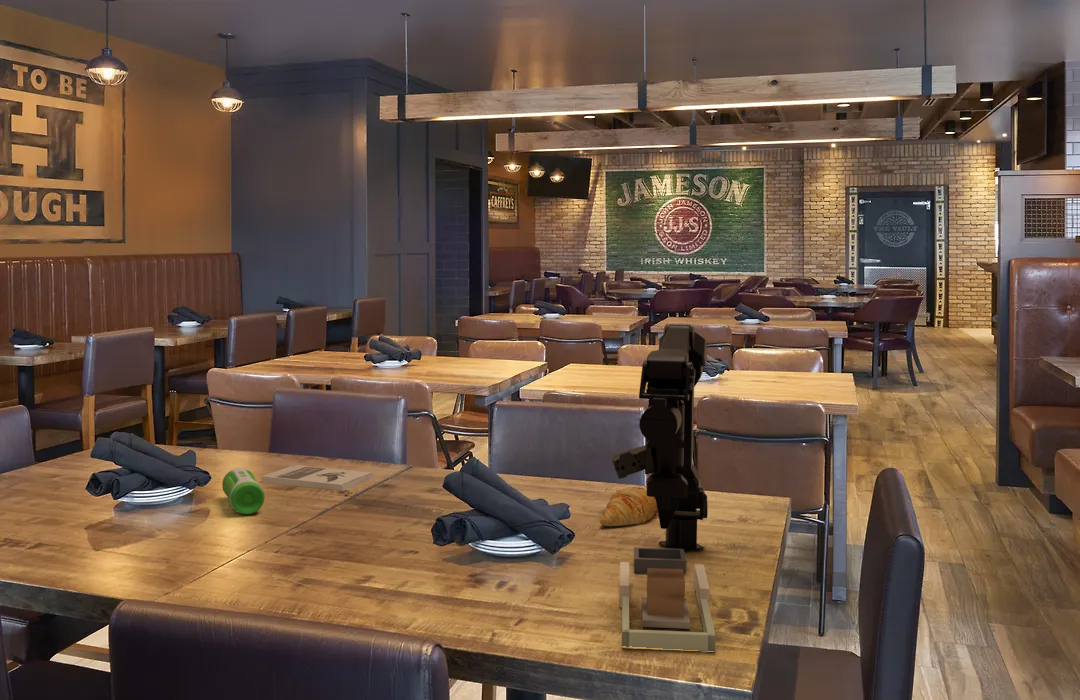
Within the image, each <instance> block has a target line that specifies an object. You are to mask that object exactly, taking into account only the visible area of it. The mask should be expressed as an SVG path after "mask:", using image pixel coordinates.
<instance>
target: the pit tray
mask: <svg viewBox="0 0 1080 700" xmlns="http://www.w3.org/2000/svg"><path fill="white" fill-rule="evenodd" d="M647 568H661V569H683V573H684V574H686V575H687V557H686V552H684V549H675V548H664V547H639V546H637V547H636V546H634V547H633V573H634V574H647Z"/></svg>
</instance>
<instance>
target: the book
mask: <svg viewBox="0 0 1080 700" xmlns="http://www.w3.org/2000/svg"><path fill="white" fill-rule="evenodd" d="M371 478H373V479H374V472H368V471H358V470H347V469H340V468H339V469H338V468H330V467H329V468H327V467H321V466H320V467H319V466H308V465H297V464H294V465H291V466H287V467H284V468H282V469H280V470H279V469H278V470H276V471H273V472H270V473H267V474H264V475H261V477H260V480H261V481H260V482H261V483H265V484H267V483H268V484H276V485H284V486H285V485H286V486H294V487H304V488H313V489H324V490H332V491H343V492H344V491H345V490H348V489H350V488H351V489H352V488H353V487H355V485H356V486H358V485H360V484H359V483H361V484H363V483H365V482H364V481H366V482H368V481H370V480H369V479H371ZM367 480H368V481H367ZM371 480H372V479H371ZM362 482H363V483H362ZM357 484H358V485H357Z"/></svg>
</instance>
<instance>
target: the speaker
mask: <svg viewBox="0 0 1080 700" xmlns="http://www.w3.org/2000/svg"><path fill="white" fill-rule="evenodd" d="M221 484H222V487H221V488H222V491H223V493H224V494H225V496H226V497H227V499H228V501H229V504H230V507H231V508H232V509H233V510H234V511H235V512H237V513H239V514H241V515H251V514H254V513H256V512H259V510H260V509H261V508H262V506H263V504H264V502H265V498H266V496H265V494H266V493H265V491H264V488H263V487H262V485H261V484H260V483H259V482H258V480H257V479H256V477H255V475H254V474H253V473H252V472H251V471H250V470H249V469H247V468H244V467H236V468H235V467H234V468H233V469H231V470H229V471H228V472H226V473H225V475H224V477H223V480H222V483H221Z"/></svg>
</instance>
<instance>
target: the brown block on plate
mask: <svg viewBox="0 0 1080 700" xmlns="http://www.w3.org/2000/svg"><path fill="white" fill-rule="evenodd" d="M685 591H686V581H685V575H684V573H683V569H661V568H647V573H646V596H641V616H642V617H641V618H642V619H641V622H642V627H643V628H658V629H659V628H661V629H664V628H666V629H682V630H683V629H684V630H685V629H686V630H689V629H690V630H691V619H690V612H689V608H688V602H687V598H685V595H686V594H685Z"/></svg>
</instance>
